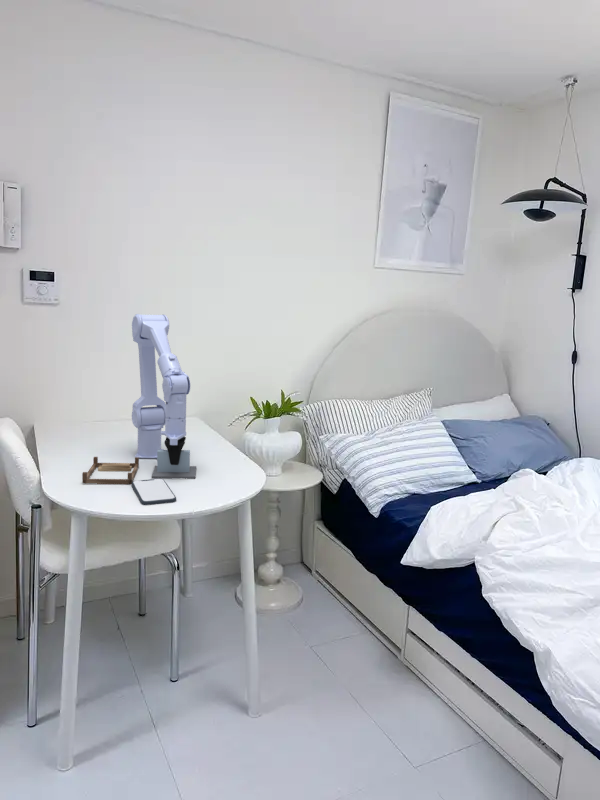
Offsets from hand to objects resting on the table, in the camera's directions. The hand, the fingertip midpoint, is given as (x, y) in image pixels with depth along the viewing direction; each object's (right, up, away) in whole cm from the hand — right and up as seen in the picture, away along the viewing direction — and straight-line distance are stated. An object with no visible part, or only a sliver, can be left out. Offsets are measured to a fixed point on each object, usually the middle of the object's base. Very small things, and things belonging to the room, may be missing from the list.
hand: (174, 463), depth 169 cm
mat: (0, -3, +1) cm, 3 cm away
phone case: (-2, -7, -17) cm, 18 cm away
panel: (-1, -2, 0) cm, 2 cm away
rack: (-17, -3, -4) cm, 17 cm away
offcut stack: (-17, -2, 0) cm, 17 cm away
